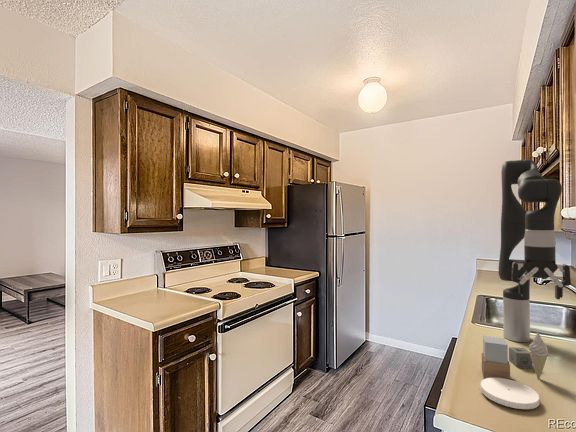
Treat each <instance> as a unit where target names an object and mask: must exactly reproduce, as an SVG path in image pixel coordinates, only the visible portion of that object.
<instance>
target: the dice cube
mask: <svg viewBox="0 0 576 432" xmlns="http://www.w3.org/2000/svg"><path fill="white" fill-rule="evenodd" d="M528 351H529V349H527V348H525V347H517V346H516V347H513V346H509V347H508V362H509V363H510V364H512V365H513V366H514V367H516V368H522V369H523V368H524V369H525V368H527V369H533V368H534V366H533V363H532V360H531V357H530V354H529V352H528Z"/></svg>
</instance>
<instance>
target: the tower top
mask: <svg viewBox="0 0 576 432" xmlns="http://www.w3.org/2000/svg"><path fill="white" fill-rule="evenodd" d="M482 343H483V345H482V346H483V347H482V349H483V350H482V353H483V354H484V358H485V361H489V362H495V363H502V364H508V362H509V347H508V346H509V345H508V343H507V340H506V338H505V337H504V338H502V337H497V336H496V337H495V336H489V335H488V336H487V335H482Z"/></svg>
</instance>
